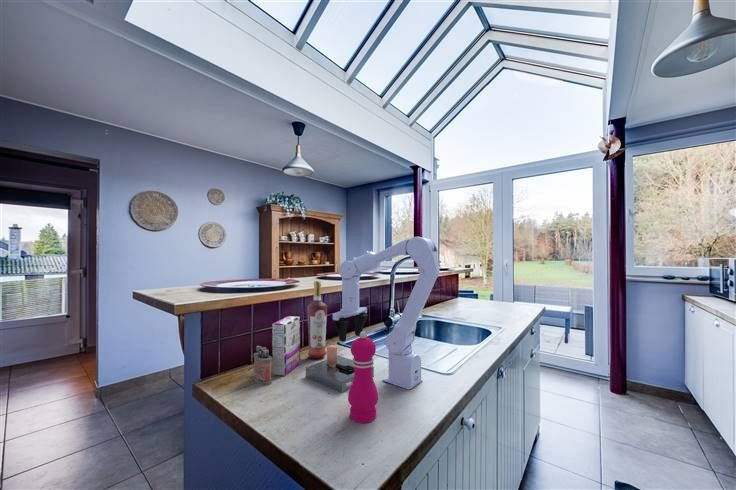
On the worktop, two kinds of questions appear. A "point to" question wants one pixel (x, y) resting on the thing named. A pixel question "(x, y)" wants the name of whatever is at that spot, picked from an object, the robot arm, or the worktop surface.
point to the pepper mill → (363, 381)
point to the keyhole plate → (332, 373)
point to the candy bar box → (285, 345)
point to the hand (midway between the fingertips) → (350, 338)
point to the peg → (332, 356)
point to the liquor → (317, 324)
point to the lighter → (262, 366)
